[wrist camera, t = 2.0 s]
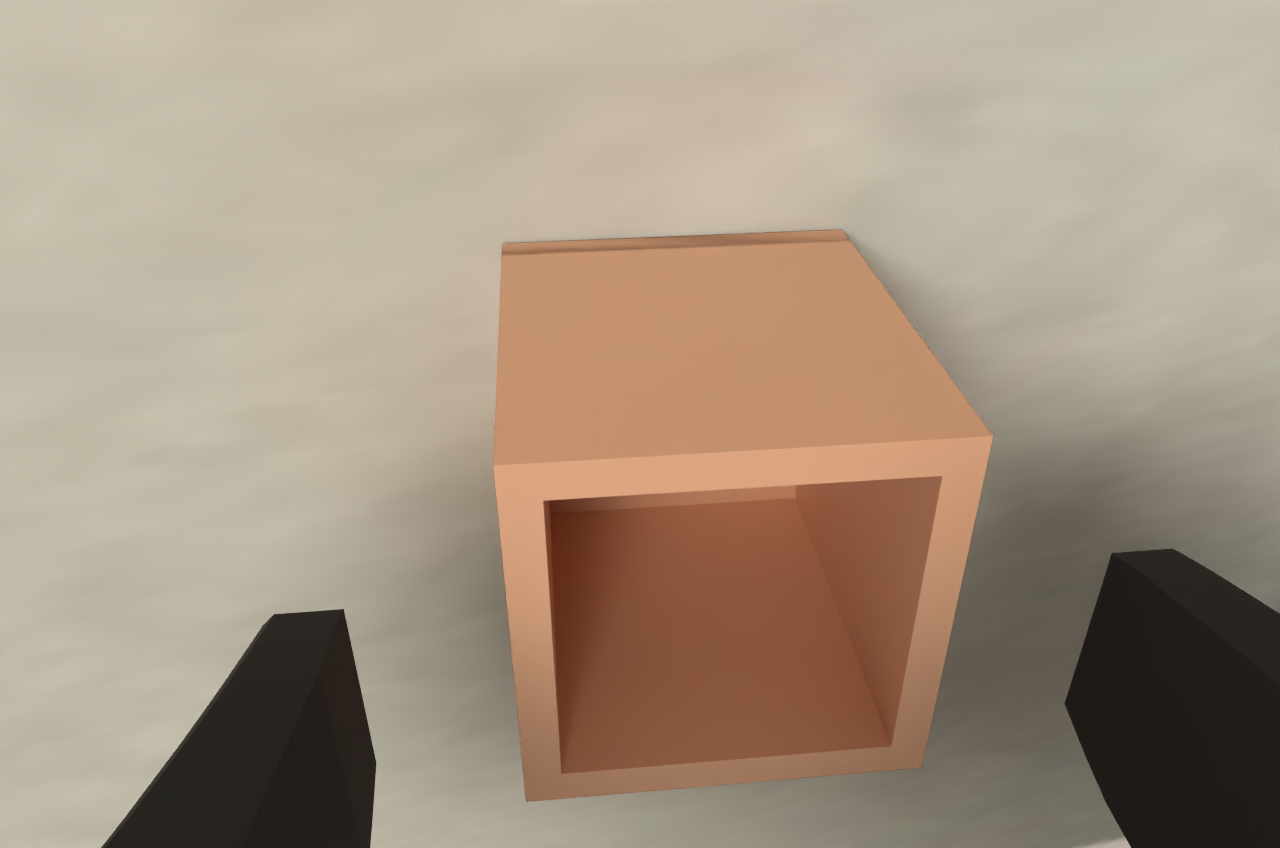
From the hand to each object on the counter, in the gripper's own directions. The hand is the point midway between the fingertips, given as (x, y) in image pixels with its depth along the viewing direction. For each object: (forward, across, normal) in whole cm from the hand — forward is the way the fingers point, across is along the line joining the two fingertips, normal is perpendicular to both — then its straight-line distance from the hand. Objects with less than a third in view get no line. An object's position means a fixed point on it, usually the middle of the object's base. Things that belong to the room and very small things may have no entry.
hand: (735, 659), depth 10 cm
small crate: (+5, 0, 0) cm, 5 cm away
